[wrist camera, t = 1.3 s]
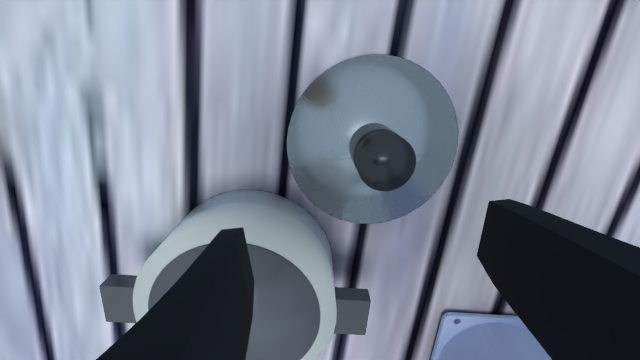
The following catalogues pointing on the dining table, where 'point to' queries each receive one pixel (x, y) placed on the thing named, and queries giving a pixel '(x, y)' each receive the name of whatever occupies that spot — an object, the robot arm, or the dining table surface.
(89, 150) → the dining table surface
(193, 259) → the pot
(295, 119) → the lid
